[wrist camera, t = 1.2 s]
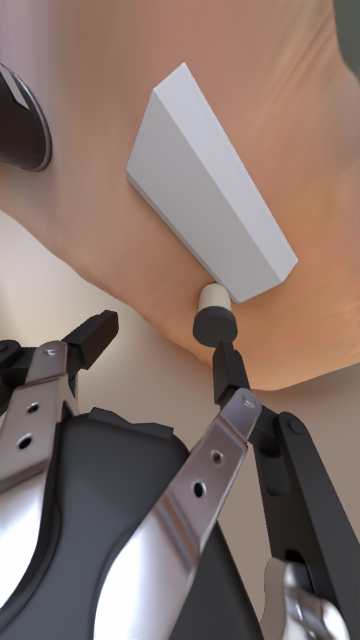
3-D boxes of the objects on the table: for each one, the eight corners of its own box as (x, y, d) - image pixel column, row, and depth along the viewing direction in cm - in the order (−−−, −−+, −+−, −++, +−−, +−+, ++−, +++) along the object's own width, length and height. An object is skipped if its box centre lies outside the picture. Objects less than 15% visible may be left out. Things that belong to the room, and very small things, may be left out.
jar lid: (187, 328, 26) (185, 337, 24) (204, 298, 21) (204, 307, 20) (221, 342, 26) (222, 352, 24) (244, 316, 22) (247, 326, 20)
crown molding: (127, 177, 22) (115, 170, 19) (182, 67, 16) (177, 32, 13) (236, 301, 31) (240, 309, 28) (297, 260, 25) (309, 265, 22)
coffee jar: (194, 302, 33) (188, 335, 24) (207, 278, 29) (205, 307, 20) (219, 313, 33) (221, 349, 25) (235, 290, 29) (245, 324, 21)
